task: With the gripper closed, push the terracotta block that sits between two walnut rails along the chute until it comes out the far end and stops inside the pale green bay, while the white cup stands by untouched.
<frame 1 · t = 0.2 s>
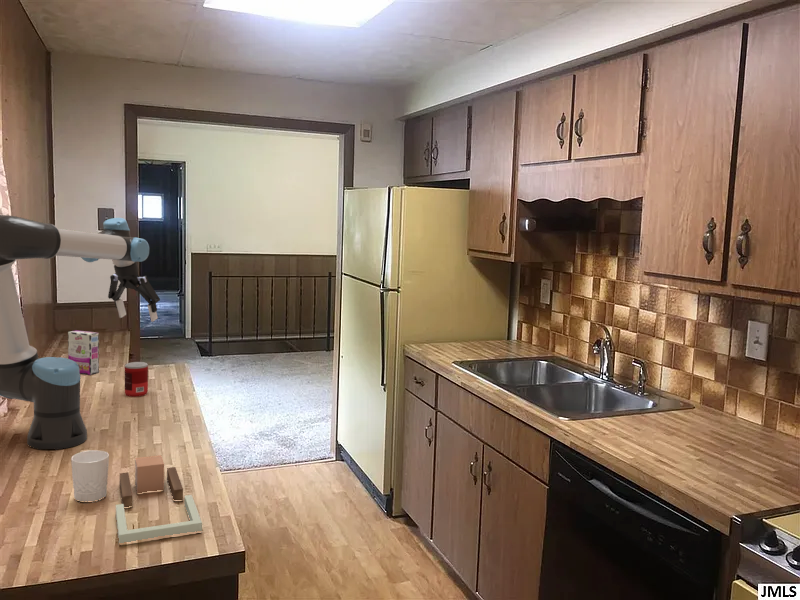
hand: (138, 318, 233), 28 cm above the counter, tool tilted 20°, fingers open, 13 cm apart
bay: (157, 522, 143), on the counter
chute: (150, 492, 157), on the counter
block: (149, 488, 160), on the counter
candy bar box: (83, 372, 262), on the counter
canned food: (136, 394, 237), on the counter
white cup: (90, 497, 153), on the counter
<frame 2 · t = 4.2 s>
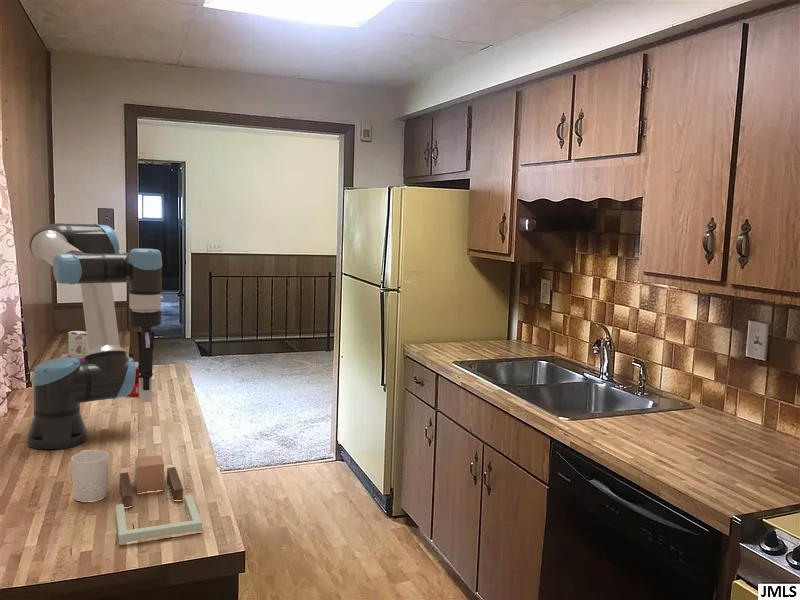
hand: (145, 399, 169), 19 cm above the counter, tool pointing down, fingers open, 3 cm apart
nothing on the counter moved.
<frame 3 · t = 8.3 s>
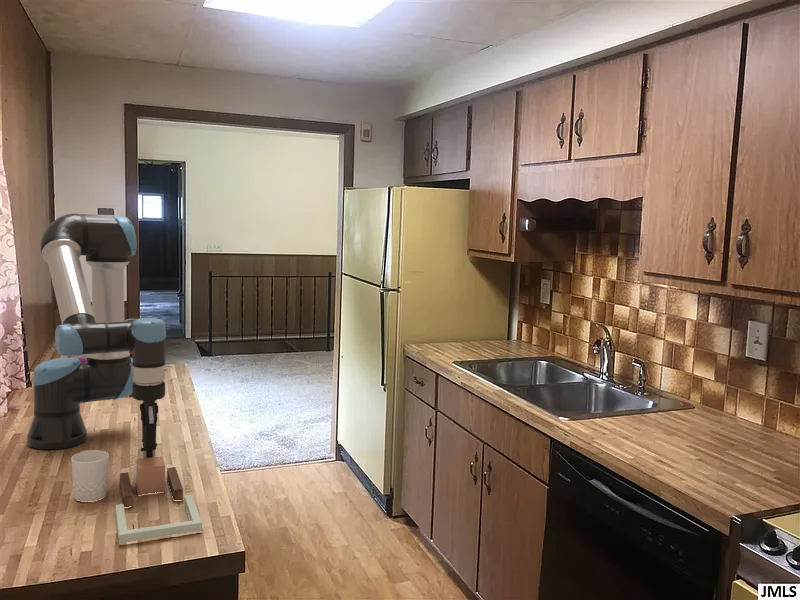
hand: (148, 473, 163), 2 cm above the counter, tool pointing down, fingers closed
block: (150, 489, 159), on the counter, touching gripper
everything else where it was.
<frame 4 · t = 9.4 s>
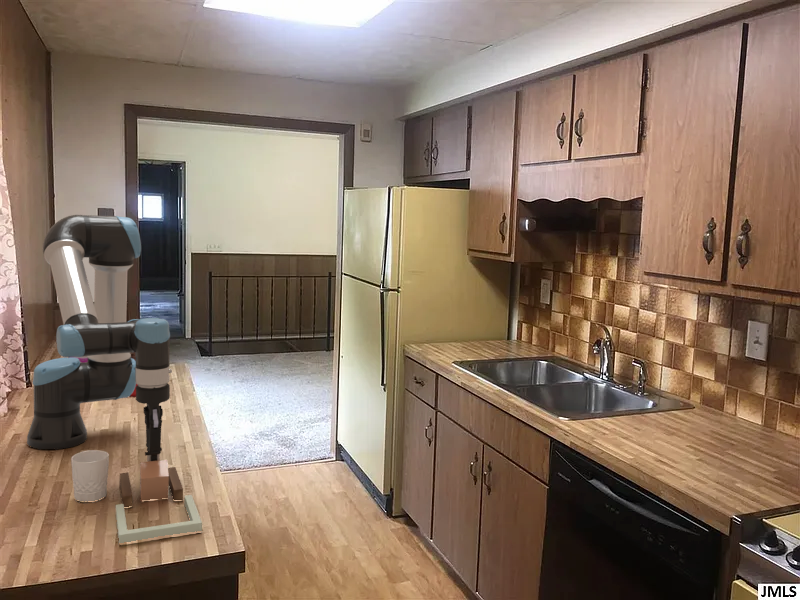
hand: (153, 479, 158), 3 cm above the counter, tool pointing down, fingers closed
block: (153, 492, 156), point 1 cm above the counter, tilted 17°, touching gripper
everything else where it was.
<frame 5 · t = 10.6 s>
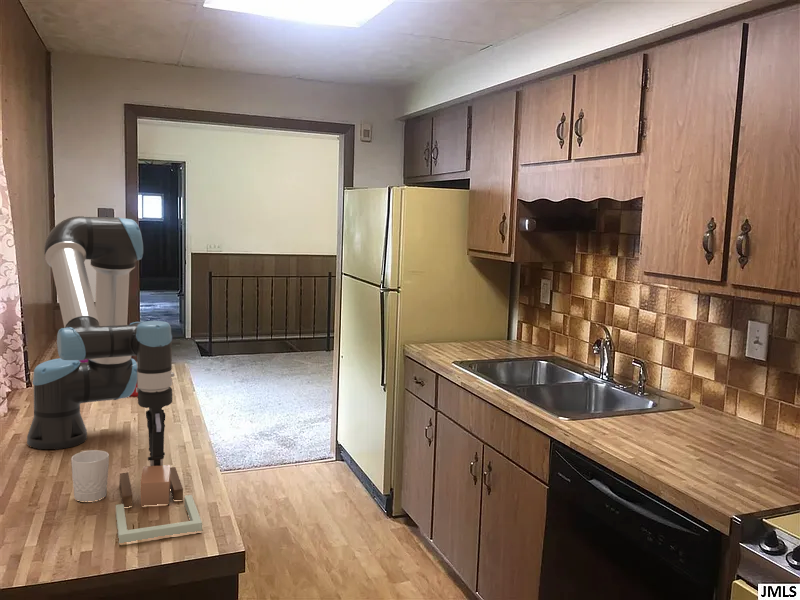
hand: (156, 484, 156), 3 cm above the counter, tool pointing down, fingers closed
block: (156, 498, 153), point 1 cm above the counter, tilted 17°, touching gripper
everything else where it was.
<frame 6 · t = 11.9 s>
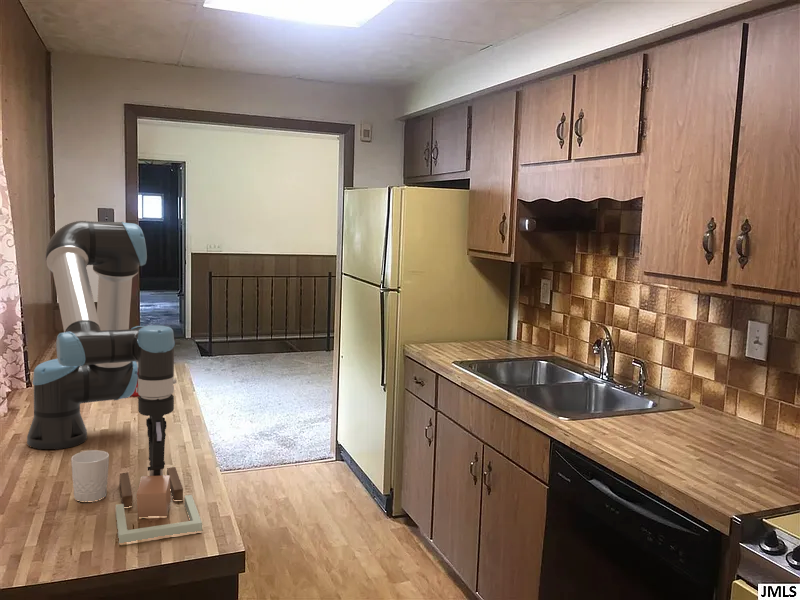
hand: (156, 494, 150), 3 cm above the counter, tool pointing down, fingers closed
block: (154, 509, 147), point 1 cm above the counter, tilted 16°, touching gripper
everything else where it was.
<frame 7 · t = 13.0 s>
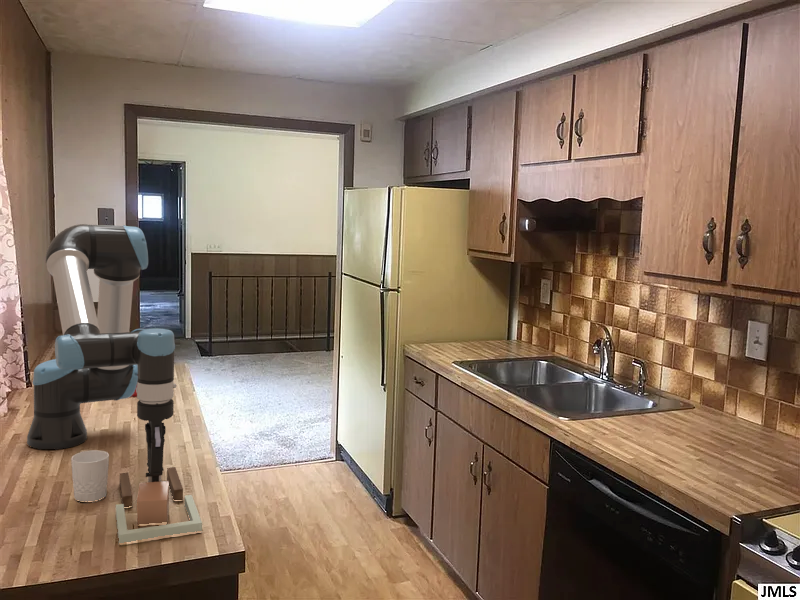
hand: (154, 501, 147), 3 cm above the counter, tool pointing down, fingers closed
block: (153, 516, 144), point 1 cm above the counter, tilted 17°, touching gripper
everything else where it was.
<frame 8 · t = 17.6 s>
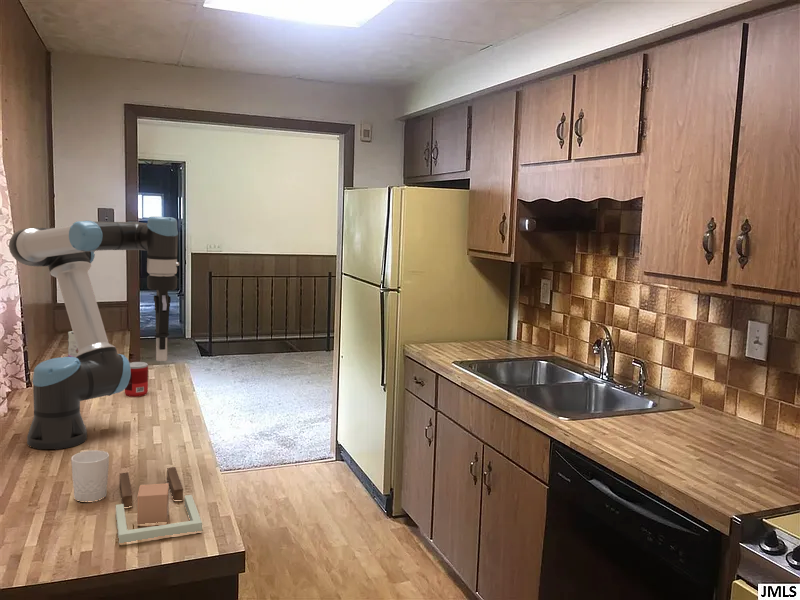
hand: (161, 360, 179), 26 cm above the counter, tool pointing down, fingers closed
block: (153, 519, 144), on the counter
everything else where it was.
at the end: block inside the target area (1.8 cm from its centre), on the counter; block tilted 0°; white cup moved 0.2 cm from its start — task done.
